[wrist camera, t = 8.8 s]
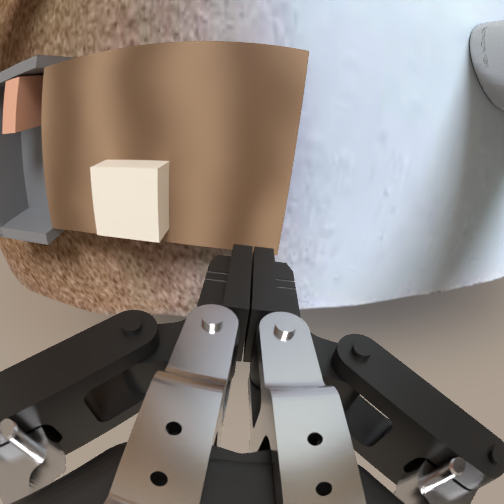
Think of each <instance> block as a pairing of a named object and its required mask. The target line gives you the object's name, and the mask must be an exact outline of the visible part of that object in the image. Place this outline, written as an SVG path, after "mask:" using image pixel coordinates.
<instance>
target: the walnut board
mask: <svg viewBox="0 0 504 504" xmlns="http://www.w3.org/2000/svg"><path fill="white" fill-rule="evenodd" d="M308 56H309V51H306V50H301V49H295V48H289V47H282V46H275V45H266V44H256V43H244V42H225V41H188V42H169V43H157V44H147V45H139V46H132V47H125V48H119V49H113V50H108V51H103V52H98V53H94V54H90V55H85V56H81V57H77V58H74V59H70V60H67V61H63V62H60V63H57V64H54V65H51V66H48V67H45V68H44V76H43V89H42V114H41V127H42V153H43V166H44V177H45V185H46V193H47V200H48V206H49V212H50V218H51V223H52V228H55V229H63V230H71V231H80V232H88V233H96V234H97V230H96V223H95V215H94V207H93V198H92V187H91V174H90V167H92V166H94V165H96V164H98V163H100V162H103V161H105V160H157V161H169V229H168V231H167V232H166V234H165V235H164V237H163V238H162V239H161V241H162V242H171V243H179V244H187V245H195V246H204V247H212V248H220V249H229V250H232V249H233V244H239V245H248V246H253V251H254V246H257V247H265V248H273V249H274V255H277V254H278V248H279V243H280V237H281V232H282V226H283V220H284V215H285V209H286V203H287V197H288V191H289V185H290V179H291V173H292V167H293V161H294V154H295V148H296V141H297V135H298V128H299V122H300V115H301V108H302V101H303V94H304V87H305V79H306V72H307V64H308ZM253 251H252V252H253Z"/></svg>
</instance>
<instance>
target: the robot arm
mask: <svg viewBox="0 0 504 504" xmlns="http://www.w3.org/2000/svg"><path fill="white" fill-rule="evenodd" d="M470 52H471V58H472V63H473V66H474V69H475V72H476V75H477V77H478V80H479V82H480V84H481V86H482V88H483V90H484V92H485V93H486V95H487V96H488V97H489V99H490V100H491V101H492V102H493V104H494V105H495V106H496V107H498V108H499V109H501V110H502V111H504V20H501V21H493V22H487V23H481V24H479V25H477V26H476V27H475V28H474V29H473V31H472V34H471V38H470ZM252 251H253V246H248V245H239V244H233V249H232V255H231V257H229V256H221V255H217V256H216V257H215V258H214V259H213V260H212V261H211V262H210V264H209V267H208V271H207V274H206V277H205V281H204V284H203V288H202V291H201V295H200V298H199V302H198V305H197V307H196V308H195V309H193V310H192V311H191V312H190V313H189V314H188V316H187V319H185V320H183V321H180V322H175V323H166V324H157V323H156V320H155V319H154V318H153V316H151V315H150V314H148V313H147V312H144V311H140V310H128V311H124V312H121V313H119V314H117V315H115V316H113V317H111V318H109V319H107V320H105V321H103V322H101V323H99V324H96V325H94V326H92V327H90V328H88V329H86V330H84V331H83V332H80V333H78V334H76V335H74V336H72V337H70V338H68V339H66V340H64V341H62V342H60V343H58V344H56V345H54V346H52V347H50V348H48V349H46V350H44V351H42V352H40V353H38V354H36V355H34V356H32V357H30V358H27V359H26V360H24V361H21V362H20V363H17V364H15V365H13V366H11V367H10V368H7V369H5V370H3V371H1V372H0V497H1V499H2V501H3V503H4V504H470V503H471V501H472V499H473V497H474V495H475V493H476V491H477V490H478V489H479V488H480V487H482V486H484V485H486V484H487V483H489V482H491V481H493V480H495V479H496V478H498V477H499V476H501V475H502V474H503V473H504V442H503V441H502V440H501V439H500V438H498V437H497V436H496V435H494V434H493V433H492V432H491V431H489V430H488V429H486V427H484V426H483V425H482V424H480V423H479V422H478V421H476V420H475V419H474V418H473V417H471V416H470V415H469V414H467V413H466V412H465V411H464V410H463V409H461V408H460V407H459V406H457V405H456V404H455V403H453V402H452V401H451V400H450V399H448V398H447V397H446V396H445V395H443V394H442V393H441V392H439V391H438V390H437V389H435V388H434V387H433V386H432V385H430V384H429V383H428V382H426V381H425V380H424V379H423V378H421V377H420V376H419V375H417V374H416V373H415V372H413V371H412V370H411V369H410V368H408V367H407V366H406V365H404V364H403V363H402V362H401V361H399V360H398V359H397V358H395V357H394V356H393V355H392V354H390V353H389V352H388V351H386V350H385V349H384V348H383V347H381V346H380V345H379V344H377V343H376V342H375V341H373V340H372V339H370V338H368V337H366V336H364V335H360V334H350V335H346V336H344V337H343V338H342V339H340V341H339V343H335V342H332V341H329V340H325V339H322V338H320V337H317V336H315V335H314V334H312V333H311V332H310V330H309V327H308V325H307V324H306V323H305V322H304V320H302V319H301V318H300V312H299V305H298V299H297V293H296V290H295V289H296V287H295V282H294V275H293V271H292V270H291V269H290V267H289V266H288V265H287V264H286V263H281V262H275V258H274V249H273V248H265V247H257V246H254V251H253V257H252ZM244 341H245V343H244ZM243 347H244V359H243V361H244V362H250V374H249V379H248V395H249V414H250V442H249V453H244V454H241V453H236V452H233V451H230V450H226V449H223V448H221V447H219V445H220V439H221V433H222V427H223V421H224V417H225V412H226V406H227V401H228V396H229V391H230V385H231V380H232V378H233V376H234V373H235V366H236V361H241V359H242V353H243ZM360 394H361V395H362V396H363V397H364V398H365V399H367V400H368V401H369V402H370V403H371V404H372V405H374V406H375V407H376V408H377V409H378V410H380V411H381V412H382V413H383V414H385V415H386V416H387V417H388V418H389V419H388V418H386V417H385V416H383V415H382V414H381V413H380V412H378V411H377V410H376V409H375V408H374V407H373V406H371V405H370V404H369V403H368V402H367V401H365V400H364V399H363V398H362V397H361V396H360ZM138 412H139V414H138V416H137V418H136V421H135V423H134V426H133V429H132V431H131V434H130V437H129V439H128V442H125V443H122V444H119V445H116V446H114V447H112V448H110V449H108V450H106V451H105V452H103V453H101V454H100V455H98V456H97V457H95V458H93V459H92V460H90V461H89V462H87V463H85V464H84V465H82V466H80V467H79V468H77V469H75V470H74V471H72V472H70V473H69V474H67V475H65V476H63V477H62V478H60V479H58V480H56V481H54V480H55V479H56V478H57V477H59V476H60V475H61V474H62V473H64V472H65V470H66V466H65V464H66V458H65V455H66V454H68V453H70V452H72V451H74V450H76V449H77V448H79V447H81V446H83V445H85V444H87V443H88V442H90V441H91V440H93V439H95V438H97V437H99V436H100V435H102V434H104V433H106V432H107V431H109V430H111V429H112V428H114V427H116V426H117V425H119V424H121V423H122V422H124V421H125V420H127V419H129V418H130V417H132V416H133V415H135V414H137V413H138ZM354 450H355V451H356V452H357V453H359V454H360V455H361V456H362V457H363V458H364V459H366V460H367V461H368V462H369V463H370V464H372V465H373V466H374V467H375V468H377V469H378V470H379V471H380V472H381V473H383V474H384V475H385V476H386V477H387V478H389V479H390V480H391V481H392V482H394V483H395V484H396V485H397V486H396V490H395V491H394V493H392V492H390V491H389V490H388V489H387V488H386V487H385V486H383V485H382V484H381V483H380V482H379V481H378V480H376V479H375V478H374V477H373V476H372V475H371V474H370V473H369V472H368V471H367V470H365V469H364V468H363V467H361V466H360V465H358V464H357V461H356V457H355V453H354ZM53 481H54V482H53Z"/></svg>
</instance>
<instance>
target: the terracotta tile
mask: <svg viewBox="0 0 504 504" xmlns="http://www.w3.org/2000/svg"><path fill="white" fill-rule="evenodd" d="M43 76H44V75H37V76H21V77H16V78H13V79H10V80H7V81H6V84H5V93H4V105H3V127H2V134H9V133H16V132H20V131H23V130H27V129H30V128H34V127H38V126H41V114H42V89H43Z"/></svg>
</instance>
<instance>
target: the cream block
mask: <svg viewBox="0 0 504 504" xmlns="http://www.w3.org/2000/svg"><path fill="white" fill-rule="evenodd" d="M90 174H91V187H92V198H93V207H94V215H95V223H96V230H97V235H101V236H109V237H117V238H125V239H133V240H142V241H150V242H158V243H159V242H160V241H161V239H162V238H163V237H164V235H165V234H166V232H167V231H168V229H169V161H157V160H105V161H103V162H100V163H98V164H96V165H94V166H92V167H90Z"/></svg>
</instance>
